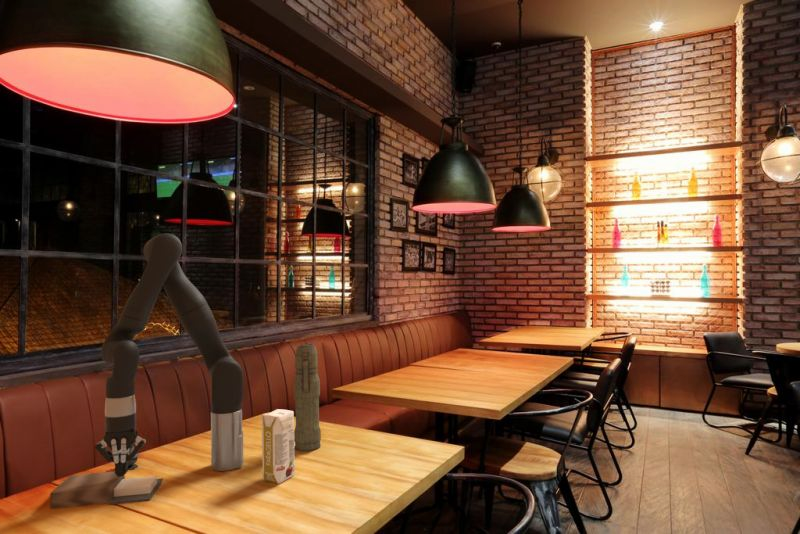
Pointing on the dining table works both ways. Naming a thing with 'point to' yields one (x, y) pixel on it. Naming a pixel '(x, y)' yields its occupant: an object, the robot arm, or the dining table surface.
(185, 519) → the dining table surface
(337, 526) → the dining table surface
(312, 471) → the dining table surface
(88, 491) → the block
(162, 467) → the dining table surface
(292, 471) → the juice carton
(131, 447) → the salt shaker
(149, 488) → the tile
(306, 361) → the thermos
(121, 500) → the mat
